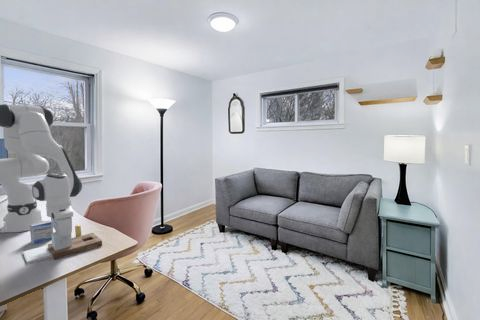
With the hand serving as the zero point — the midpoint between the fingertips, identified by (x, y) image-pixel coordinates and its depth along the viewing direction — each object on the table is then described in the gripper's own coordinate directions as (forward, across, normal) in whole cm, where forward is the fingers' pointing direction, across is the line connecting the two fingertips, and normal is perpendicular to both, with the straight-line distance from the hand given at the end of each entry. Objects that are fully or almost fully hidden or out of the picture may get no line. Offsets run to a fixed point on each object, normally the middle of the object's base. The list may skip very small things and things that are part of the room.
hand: (61, 240), depth 106 cm
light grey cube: (+3, 0, 0) cm, 3 cm away
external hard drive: (+6, -4, -8) cm, 11 cm away
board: (+5, 0, +5) cm, 7 cm away
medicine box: (+5, -21, -4) cm, 22 cm away
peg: (+5, -12, +9) cm, 16 cm away
